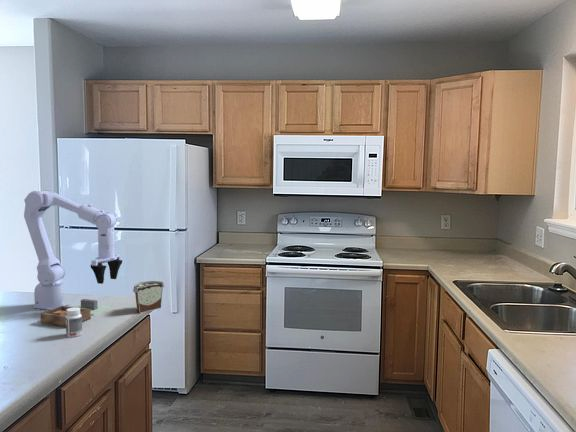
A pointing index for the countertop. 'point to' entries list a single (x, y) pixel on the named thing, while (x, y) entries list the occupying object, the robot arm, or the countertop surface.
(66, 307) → the crate
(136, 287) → the food container
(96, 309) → the lid
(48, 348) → the countertop surface
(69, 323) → the pill bottle
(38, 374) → the countertop surface
